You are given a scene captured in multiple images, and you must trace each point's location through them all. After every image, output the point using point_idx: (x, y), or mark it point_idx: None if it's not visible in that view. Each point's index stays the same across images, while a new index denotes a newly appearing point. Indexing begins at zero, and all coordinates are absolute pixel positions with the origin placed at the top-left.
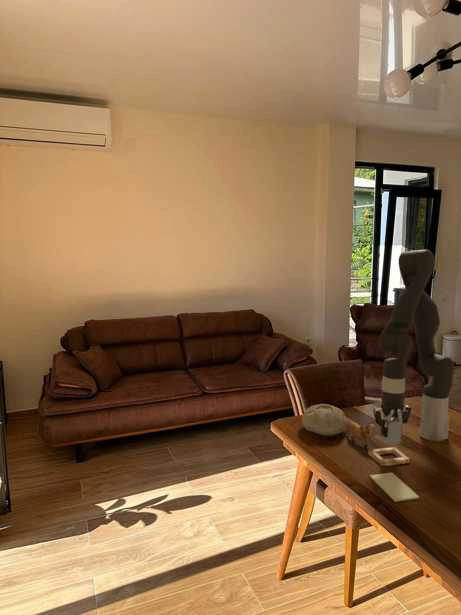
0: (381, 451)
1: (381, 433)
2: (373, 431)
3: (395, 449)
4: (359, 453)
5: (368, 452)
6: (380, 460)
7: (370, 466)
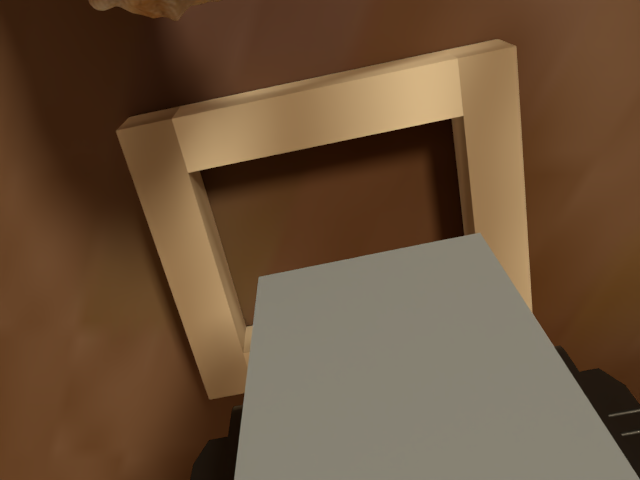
0: (289, 149)
1: (202, 459)
2: (168, 15)
3: (492, 119)
4: (15, 105)
5: (125, 123)
6: (199, 371)
7: (96, 376)
